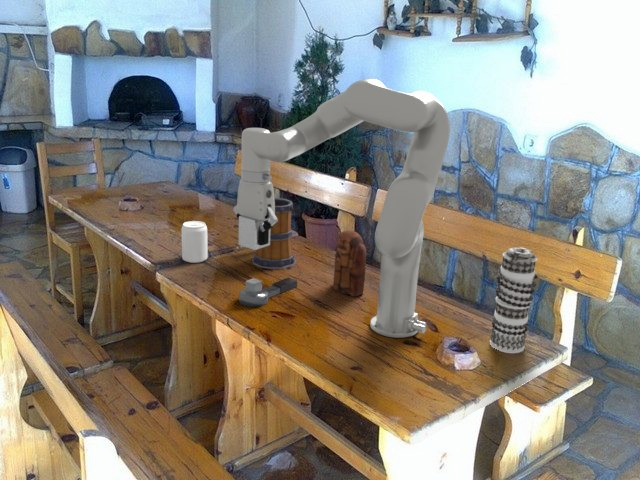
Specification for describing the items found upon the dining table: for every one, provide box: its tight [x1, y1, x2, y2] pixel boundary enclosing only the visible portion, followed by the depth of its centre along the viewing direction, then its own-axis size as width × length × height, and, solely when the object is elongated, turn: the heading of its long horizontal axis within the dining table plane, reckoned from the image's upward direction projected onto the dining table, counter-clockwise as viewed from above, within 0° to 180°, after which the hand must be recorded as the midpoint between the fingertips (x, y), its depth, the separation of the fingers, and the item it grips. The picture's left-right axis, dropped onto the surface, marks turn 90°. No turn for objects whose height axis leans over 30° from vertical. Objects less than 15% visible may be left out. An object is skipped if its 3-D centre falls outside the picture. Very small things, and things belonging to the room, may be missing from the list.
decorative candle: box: [489, 246, 539, 354], centre depth 158 cm, size 9×9×25 cm
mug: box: [251, 197, 297, 270], centre depth 212 cm, size 19×14×20 cm
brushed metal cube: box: [238, 216, 271, 251], centre depth 175 cm, size 6×6×8 cm
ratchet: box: [238, 276, 298, 308], centre depth 185 cm, size 8×21×6 cm, turn 142°
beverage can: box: [181, 220, 209, 264], centre depth 209 cm, size 8×8×12 cm
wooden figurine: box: [332, 229, 367, 297], centre depth 189 cm, size 12×6×18 cm, turn 42°
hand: (254, 240), depth 176 cm, fingers closed on brushed metal cube, 6 cm apart
